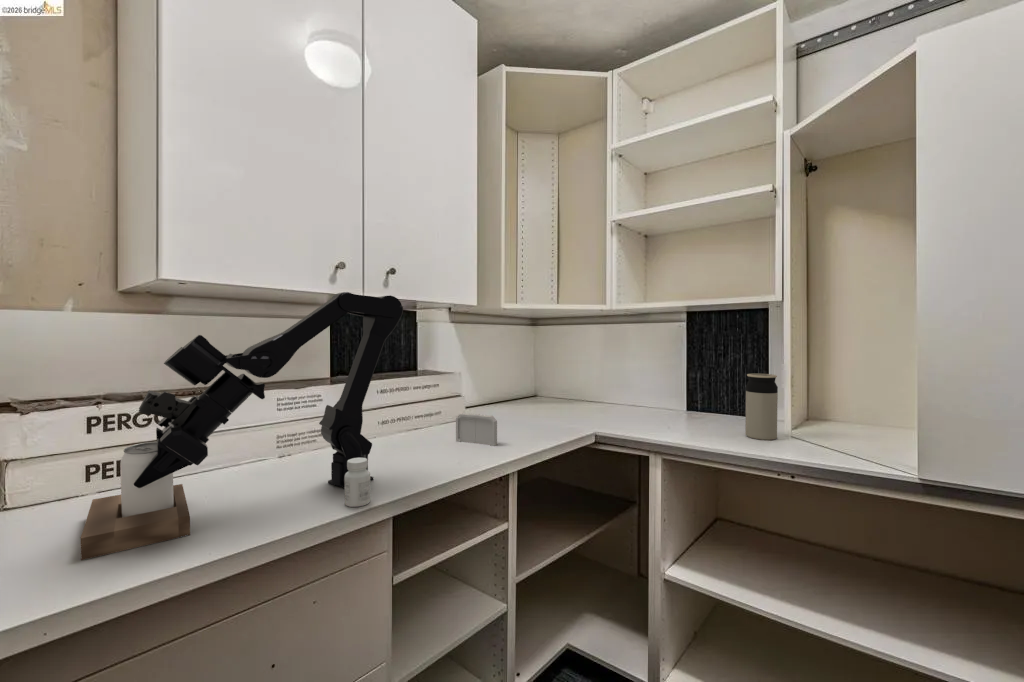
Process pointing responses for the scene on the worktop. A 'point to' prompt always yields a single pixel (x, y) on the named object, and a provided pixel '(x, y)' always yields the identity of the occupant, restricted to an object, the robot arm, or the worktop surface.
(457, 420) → the gray double door
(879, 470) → the worktop surface
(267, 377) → the robot arm
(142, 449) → the can
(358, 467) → the pill bottle
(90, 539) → the socket block
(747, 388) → the travel mug
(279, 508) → the worktop surface
